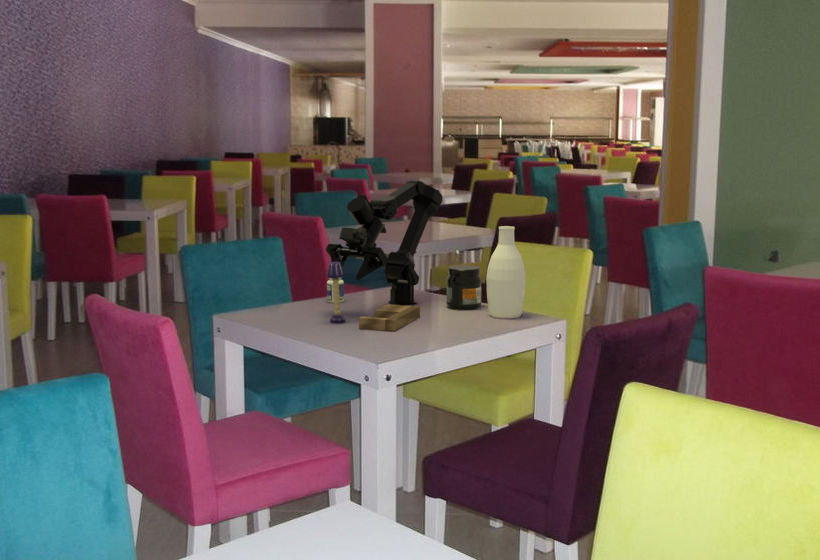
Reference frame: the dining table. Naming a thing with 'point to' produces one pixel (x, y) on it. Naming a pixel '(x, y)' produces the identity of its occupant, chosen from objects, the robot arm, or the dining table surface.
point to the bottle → (506, 278)
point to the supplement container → (463, 287)
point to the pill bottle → (330, 290)
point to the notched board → (390, 318)
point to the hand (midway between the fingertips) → (343, 278)
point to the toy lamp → (336, 290)
